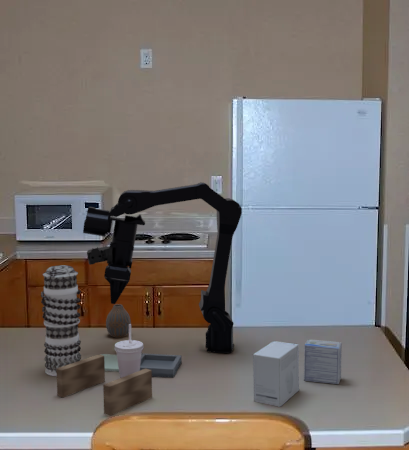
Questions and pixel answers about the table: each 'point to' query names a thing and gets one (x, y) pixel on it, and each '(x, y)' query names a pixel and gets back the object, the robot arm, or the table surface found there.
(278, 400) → the skincare box
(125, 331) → the vase
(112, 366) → the mat
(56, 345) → the decorative candle
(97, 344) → the table surface
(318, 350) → the medicine box
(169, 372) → the tray
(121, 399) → the lane
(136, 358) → the smoothie
